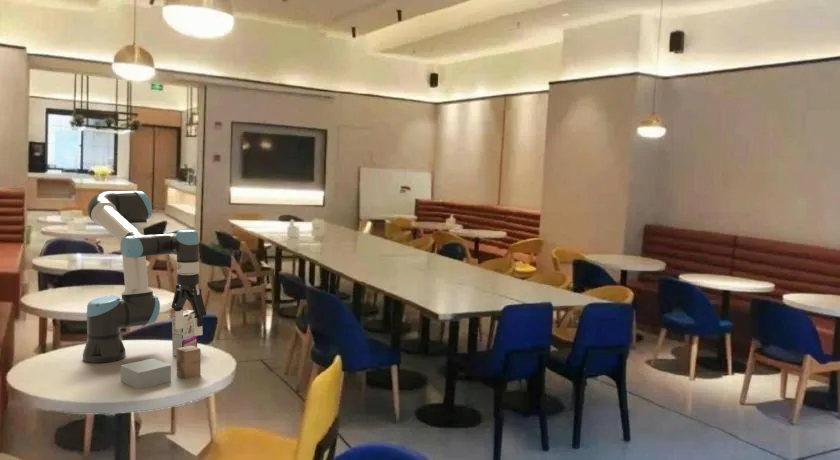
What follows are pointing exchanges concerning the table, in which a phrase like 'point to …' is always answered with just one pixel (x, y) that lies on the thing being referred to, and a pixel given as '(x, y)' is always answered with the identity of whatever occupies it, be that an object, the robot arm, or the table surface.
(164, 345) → the table surface
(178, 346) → the candy bar box
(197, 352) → the walnut block
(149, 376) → the slate base block
